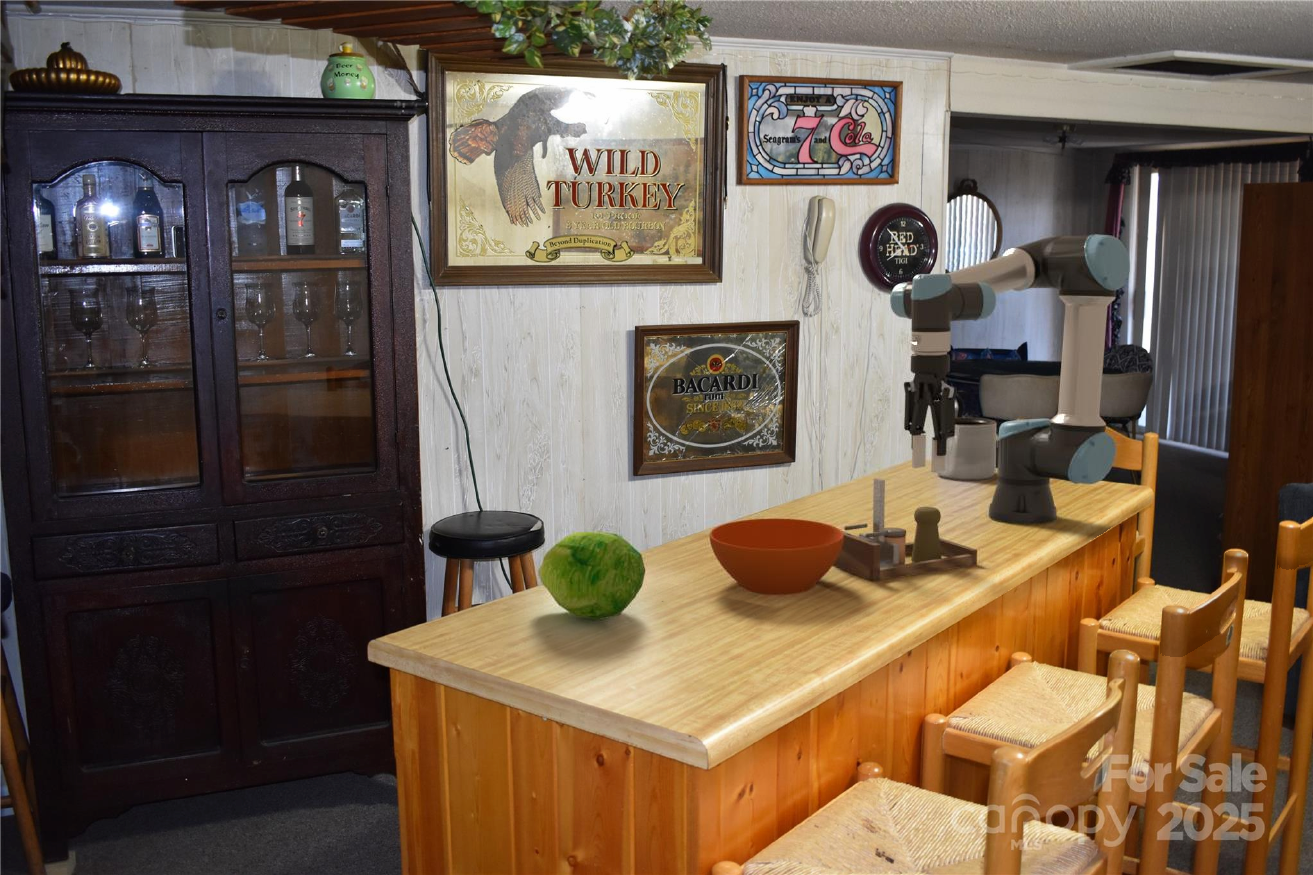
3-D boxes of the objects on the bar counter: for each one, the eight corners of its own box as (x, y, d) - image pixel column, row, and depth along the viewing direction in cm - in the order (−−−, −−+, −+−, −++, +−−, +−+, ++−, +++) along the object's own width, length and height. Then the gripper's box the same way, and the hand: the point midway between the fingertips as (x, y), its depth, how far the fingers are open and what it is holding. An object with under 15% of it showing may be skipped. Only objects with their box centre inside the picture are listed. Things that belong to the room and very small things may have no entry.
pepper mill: (942, 565, 228) (943, 511, 227) (911, 564, 229) (912, 510, 228) (941, 557, 234) (942, 504, 232) (911, 556, 235) (911, 503, 234)
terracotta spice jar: (894, 561, 232) (895, 526, 230) (911, 567, 227) (911, 531, 226) (873, 564, 229) (874, 529, 228) (889, 570, 225) (890, 534, 224)
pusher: (863, 559, 232) (864, 474, 229) (898, 572, 222) (899, 483, 219) (858, 560, 232) (859, 474, 229) (893, 573, 221) (894, 484, 219)
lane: (930, 548, 241) (931, 509, 240) (976, 564, 228) (977, 523, 227) (830, 564, 230) (830, 523, 229) (873, 581, 218) (873, 538, 216)
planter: (938, 481, 313) (939, 425, 311) (933, 470, 329) (934, 417, 327) (998, 482, 311) (1000, 425, 308) (991, 471, 326) (993, 417, 324)
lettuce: (580, 607, 212) (579, 525, 212) (664, 616, 199) (663, 529, 199) (514, 619, 199) (512, 532, 199) (599, 630, 186) (597, 537, 186)
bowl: (755, 612, 200) (755, 556, 199) (686, 578, 222) (685, 528, 221) (871, 591, 212) (871, 538, 210) (794, 561, 234) (794, 512, 232)
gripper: (886, 351, 232) (885, 464, 236) (945, 357, 216) (943, 478, 219) (916, 349, 235) (914, 460, 239) (976, 355, 219) (974, 474, 222)
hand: (928, 469), depth 229 cm, fingers open, 5 cm apart
